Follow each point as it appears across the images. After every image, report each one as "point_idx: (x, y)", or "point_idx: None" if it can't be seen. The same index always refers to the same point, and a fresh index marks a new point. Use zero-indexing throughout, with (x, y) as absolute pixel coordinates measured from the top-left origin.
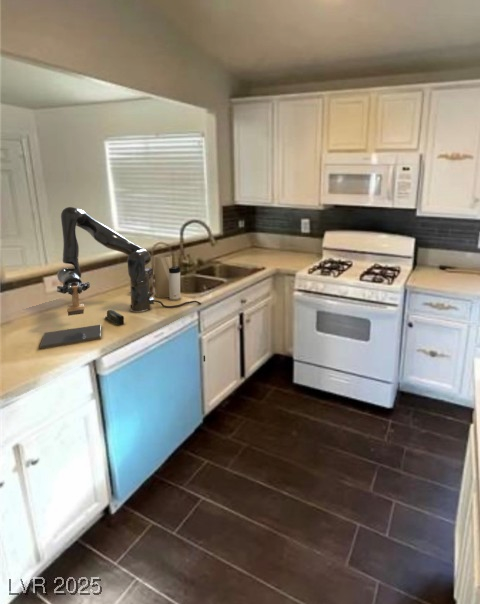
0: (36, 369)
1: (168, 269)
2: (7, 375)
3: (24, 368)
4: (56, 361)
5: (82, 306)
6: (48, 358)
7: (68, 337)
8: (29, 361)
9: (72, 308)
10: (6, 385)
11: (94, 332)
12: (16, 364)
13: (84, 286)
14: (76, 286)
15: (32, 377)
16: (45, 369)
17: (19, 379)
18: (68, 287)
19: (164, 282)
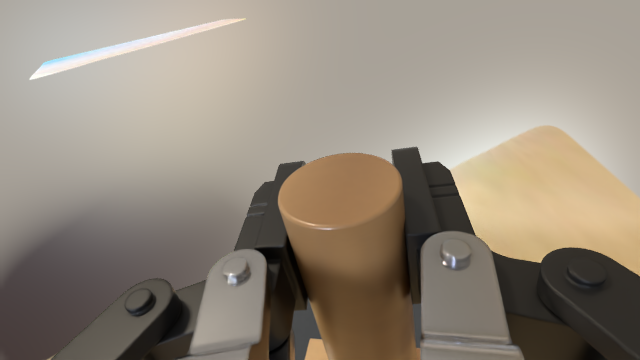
0: (514, 171)
1: None
2: (600, 166)
3: (562, 185)
4: (461, 192)
5: (318, 344)
6: (498, 217)
7: None
8: (571, 220)
9: (417, 350)
10: (566, 133)
11: (307, 339)
12: (619, 215)
13: (157, 290)
14: (311, 167)
15: (507, 145)
16: (484, 165)
17: (543, 145)
18: (485, 292)
19: None
